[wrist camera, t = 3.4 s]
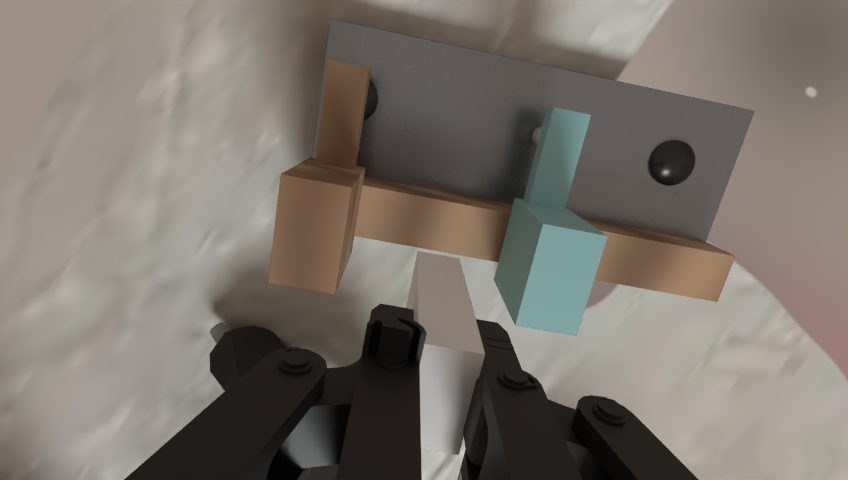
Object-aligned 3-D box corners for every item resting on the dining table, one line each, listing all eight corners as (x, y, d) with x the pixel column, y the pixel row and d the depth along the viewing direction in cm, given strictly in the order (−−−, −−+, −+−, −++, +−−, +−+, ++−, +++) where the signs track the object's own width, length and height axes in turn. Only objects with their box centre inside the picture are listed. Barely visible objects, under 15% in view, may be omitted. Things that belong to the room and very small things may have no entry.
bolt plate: (307, 216, 31) (302, 221, 30) (333, 22, 28) (329, 18, 27) (678, 284, 34) (689, 291, 32) (741, 110, 30) (757, 111, 29)
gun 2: (293, 301, 39) (197, 318, 30) (438, 449, 35) (377, 524, 25) (275, 326, 40) (175, 351, 30) (415, 475, 35) (347, 558, 26)
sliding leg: (485, 262, 31) (515, 325, 22) (524, 104, 28) (575, 105, 20) (529, 270, 31) (576, 336, 23) (572, 114, 29) (644, 120, 20)
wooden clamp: (302, 228, 30) (257, 281, 21) (324, 62, 28) (282, 44, 19) (685, 297, 32) (790, 372, 23) (740, 149, 30) (883, 171, 21)
